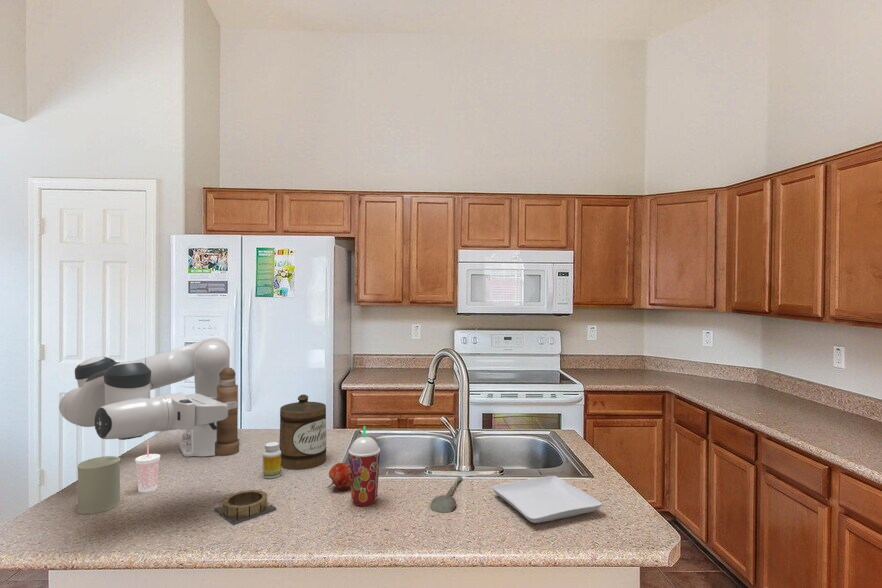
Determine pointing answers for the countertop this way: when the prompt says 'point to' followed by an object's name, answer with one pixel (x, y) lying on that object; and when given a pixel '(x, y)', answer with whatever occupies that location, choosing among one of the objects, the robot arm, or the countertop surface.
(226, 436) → the pepper mill
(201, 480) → the countertop surface
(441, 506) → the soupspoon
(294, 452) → the wooden container
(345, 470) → the pomegranate
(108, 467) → the can
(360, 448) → the smoothie
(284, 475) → the countertop surface
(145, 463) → the beverage cup
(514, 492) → the salad plate
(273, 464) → the supplement bottle
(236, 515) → the collar socket
